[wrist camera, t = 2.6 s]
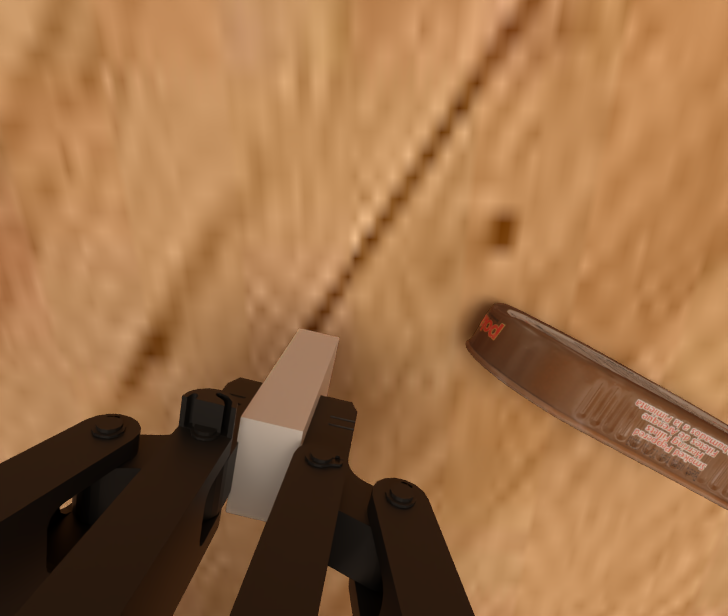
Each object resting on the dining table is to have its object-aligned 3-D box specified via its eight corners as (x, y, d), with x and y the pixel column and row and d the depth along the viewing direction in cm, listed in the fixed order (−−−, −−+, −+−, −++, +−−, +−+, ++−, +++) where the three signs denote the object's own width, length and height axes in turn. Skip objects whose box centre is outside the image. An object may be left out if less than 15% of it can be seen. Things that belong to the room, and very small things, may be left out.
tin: (453, 327, 27) (476, 394, 18) (484, 276, 26) (523, 324, 18) (686, 453, 27) (806, 569, 19) (724, 408, 27) (865, 511, 19)
